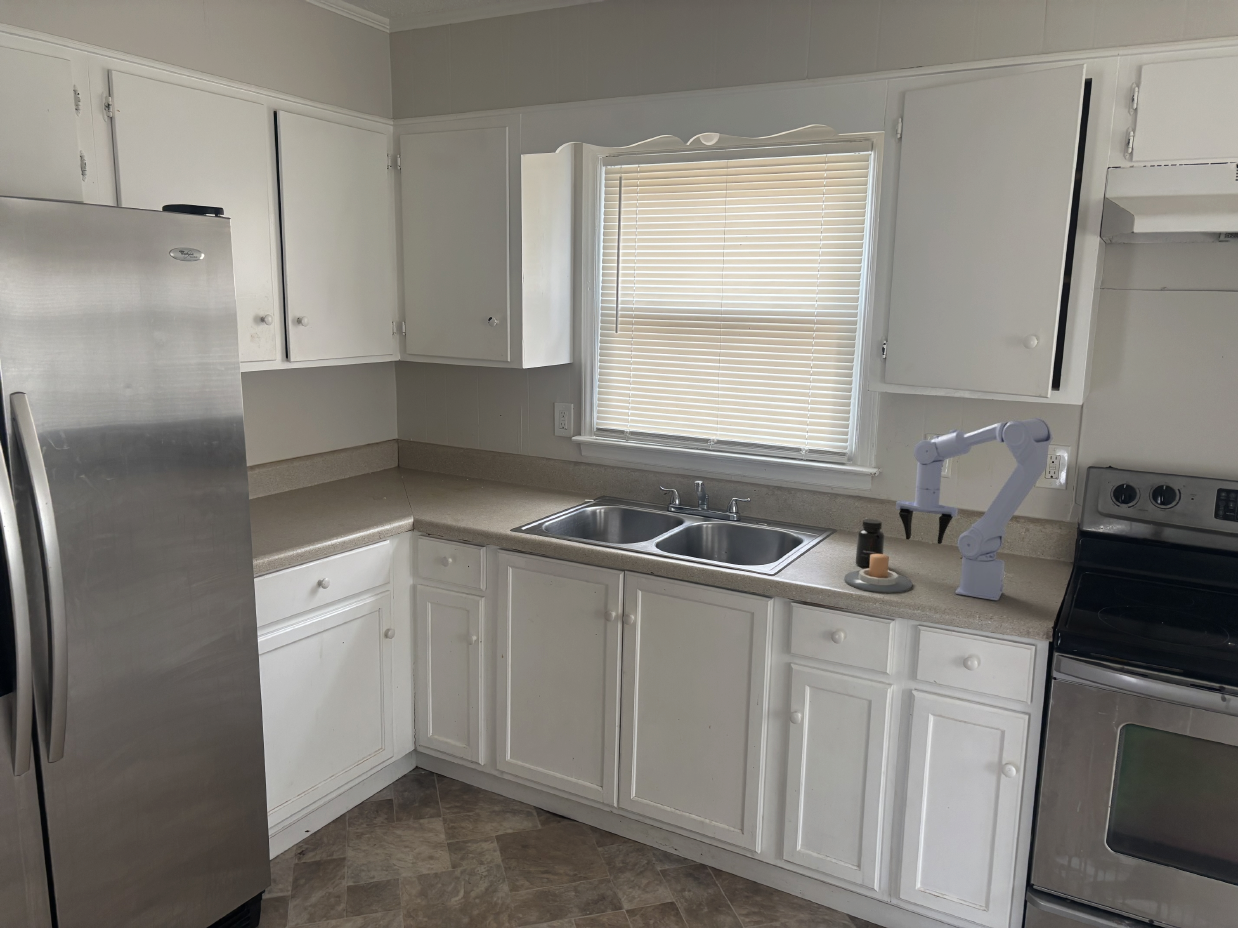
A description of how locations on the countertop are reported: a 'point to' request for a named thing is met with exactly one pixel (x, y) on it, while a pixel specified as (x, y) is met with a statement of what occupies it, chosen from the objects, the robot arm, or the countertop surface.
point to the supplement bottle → (869, 542)
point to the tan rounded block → (878, 565)
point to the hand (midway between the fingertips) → (923, 540)
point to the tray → (878, 588)
